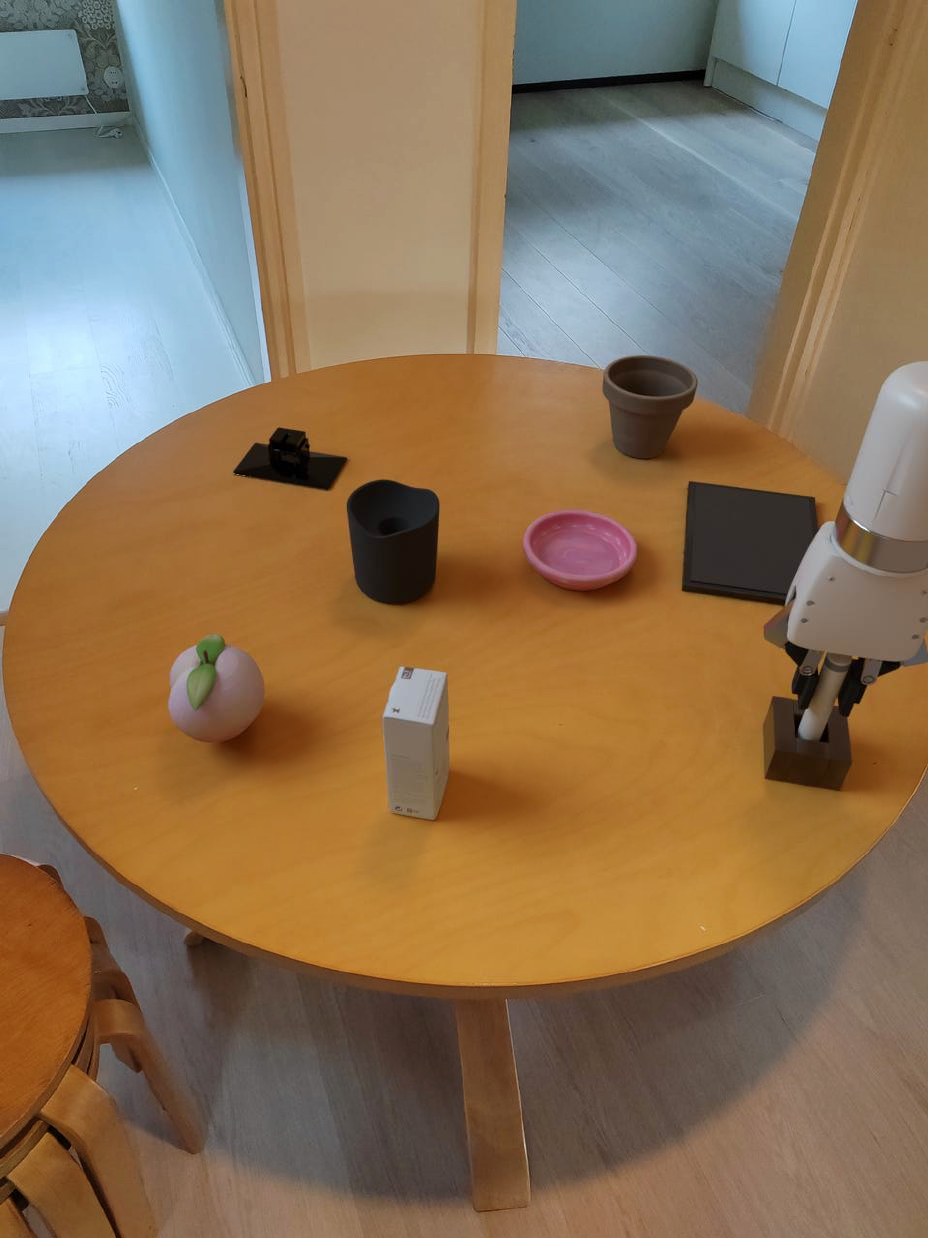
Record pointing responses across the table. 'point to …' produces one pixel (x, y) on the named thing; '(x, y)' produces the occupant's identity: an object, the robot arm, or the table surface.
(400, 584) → the pen holder
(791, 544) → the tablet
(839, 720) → the pen stand
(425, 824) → the table surface
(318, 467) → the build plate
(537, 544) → the saucer
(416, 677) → the cosmetic box
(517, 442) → the table surface
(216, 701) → the decorative fruit
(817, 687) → the stylus
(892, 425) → the robot arm
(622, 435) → the flower pot
